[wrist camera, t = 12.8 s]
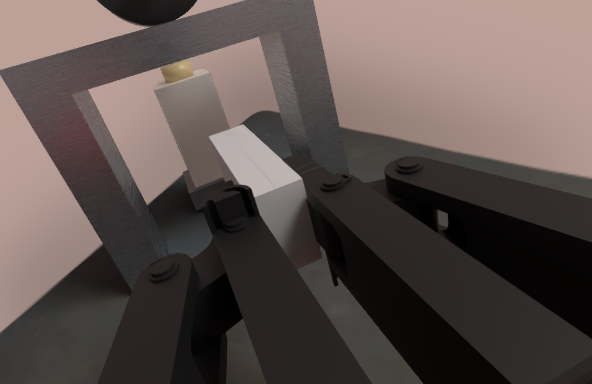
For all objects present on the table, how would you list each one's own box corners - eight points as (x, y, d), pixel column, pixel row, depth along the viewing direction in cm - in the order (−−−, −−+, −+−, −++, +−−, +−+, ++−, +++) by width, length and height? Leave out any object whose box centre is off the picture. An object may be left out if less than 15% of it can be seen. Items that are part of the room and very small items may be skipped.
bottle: (196, 210, 33) (138, 78, 28) (189, 187, 38) (139, 72, 33) (259, 185, 34) (214, 55, 29) (243, 166, 40) (204, 52, 34)
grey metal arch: (134, 294, 25) (-98, -86, 15) (135, 257, 29) (-45, -59, 20) (354, 199, 29) (280, -158, 19) (326, 177, 33) (255, -122, 23)
